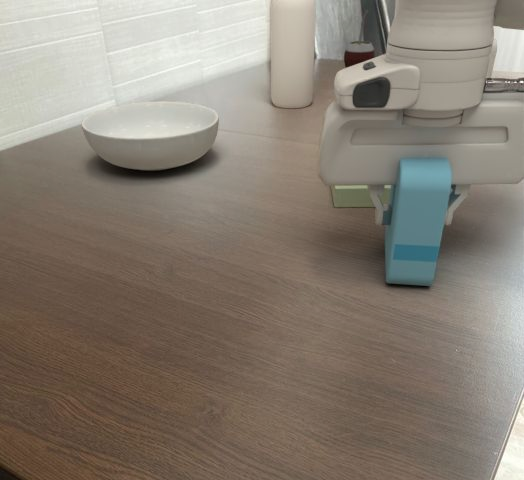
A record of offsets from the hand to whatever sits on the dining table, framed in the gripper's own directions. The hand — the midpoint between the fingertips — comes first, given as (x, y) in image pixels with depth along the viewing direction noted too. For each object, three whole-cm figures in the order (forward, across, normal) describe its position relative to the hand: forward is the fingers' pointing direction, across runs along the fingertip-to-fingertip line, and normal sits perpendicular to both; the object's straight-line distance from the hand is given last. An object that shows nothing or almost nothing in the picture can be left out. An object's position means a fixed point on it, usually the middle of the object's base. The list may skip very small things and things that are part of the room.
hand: (411, 223), depth 58 cm
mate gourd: (+5, -4, -91) cm, 91 cm away
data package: (+5, 0, 0) cm, 5 cm away
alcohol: (+5, +12, -70) cm, 71 cm away
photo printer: (+5, -23, -69) cm, 73 cm away
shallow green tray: (+5, 0, -24) cm, 24 cm away
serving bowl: (+5, +34, -34) cm, 48 cm away
